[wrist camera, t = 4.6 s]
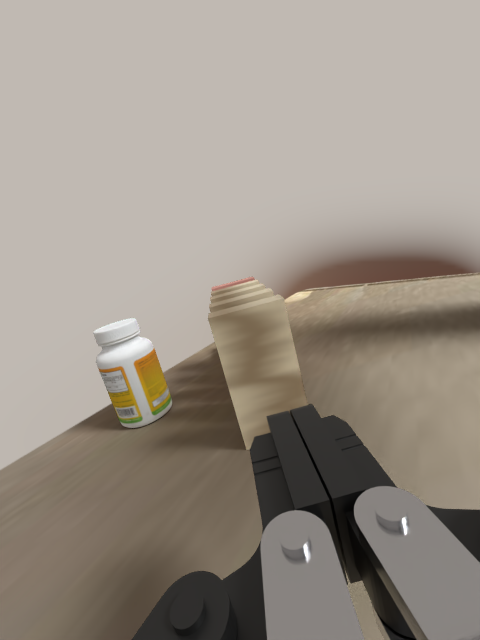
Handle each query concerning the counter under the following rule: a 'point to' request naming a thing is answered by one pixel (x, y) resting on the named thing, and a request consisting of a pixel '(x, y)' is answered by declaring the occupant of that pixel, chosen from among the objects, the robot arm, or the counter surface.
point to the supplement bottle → (132, 374)
